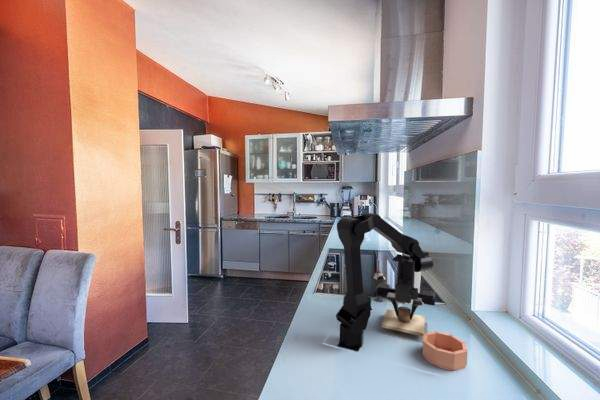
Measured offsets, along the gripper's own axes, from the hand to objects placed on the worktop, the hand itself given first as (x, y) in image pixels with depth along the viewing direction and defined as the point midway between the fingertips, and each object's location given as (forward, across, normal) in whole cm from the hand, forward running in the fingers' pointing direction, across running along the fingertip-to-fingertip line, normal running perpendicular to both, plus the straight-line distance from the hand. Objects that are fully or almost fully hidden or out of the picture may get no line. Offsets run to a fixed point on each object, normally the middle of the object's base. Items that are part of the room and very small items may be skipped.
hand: (404, 317), depth 97 cm
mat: (+4, 0, 0) cm, 4 cm away
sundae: (+4, -12, +20) cm, 24 cm away
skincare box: (+4, 0, +26) cm, 26 cm away
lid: (+2, 0, 0) cm, 2 cm away
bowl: (+4, +12, -13) cm, 18 cm away
